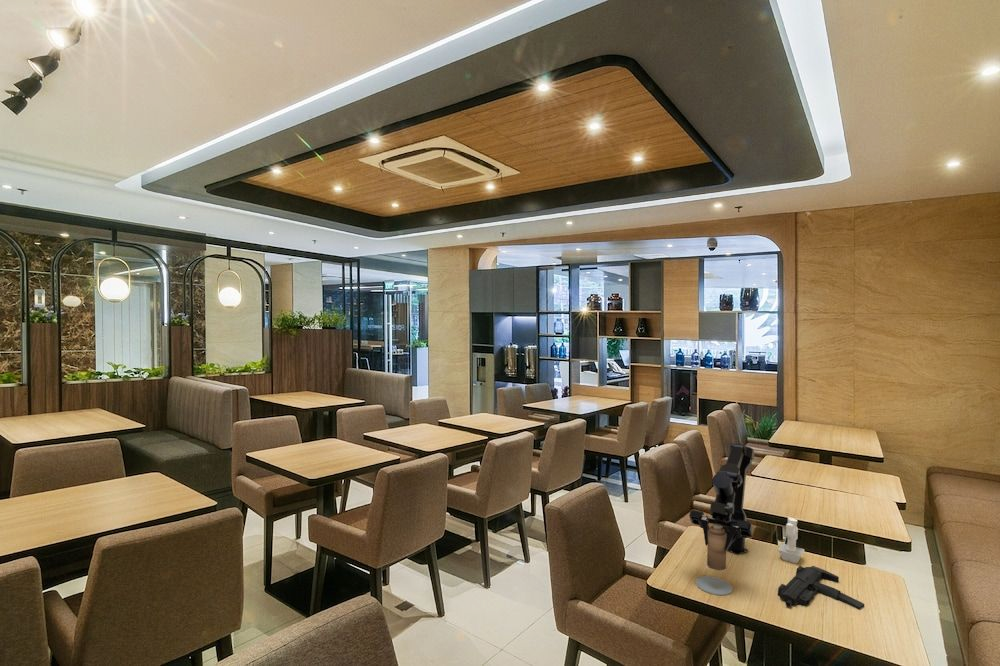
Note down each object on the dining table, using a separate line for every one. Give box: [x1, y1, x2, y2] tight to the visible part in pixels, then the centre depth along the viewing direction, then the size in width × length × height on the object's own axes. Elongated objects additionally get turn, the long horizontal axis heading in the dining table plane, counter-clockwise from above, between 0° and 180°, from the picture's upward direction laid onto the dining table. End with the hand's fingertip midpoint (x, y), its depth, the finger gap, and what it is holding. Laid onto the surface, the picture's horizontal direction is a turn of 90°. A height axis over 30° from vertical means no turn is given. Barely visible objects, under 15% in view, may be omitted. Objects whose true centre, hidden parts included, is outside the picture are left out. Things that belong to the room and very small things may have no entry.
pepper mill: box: [706, 524, 727, 571], centre depth 163 cm, size 6×6×13 cm
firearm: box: [777, 565, 865, 611], centre depth 158 cm, size 3×30×20 cm
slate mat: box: [695, 575, 733, 596], centre depth 164 cm, size 11×11×1 cm
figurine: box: [777, 517, 806, 565], centre depth 183 cm, size 7×9×15 cm
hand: (715, 547), depth 162 cm, fingers closed on pepper mill, 6 cm apart
